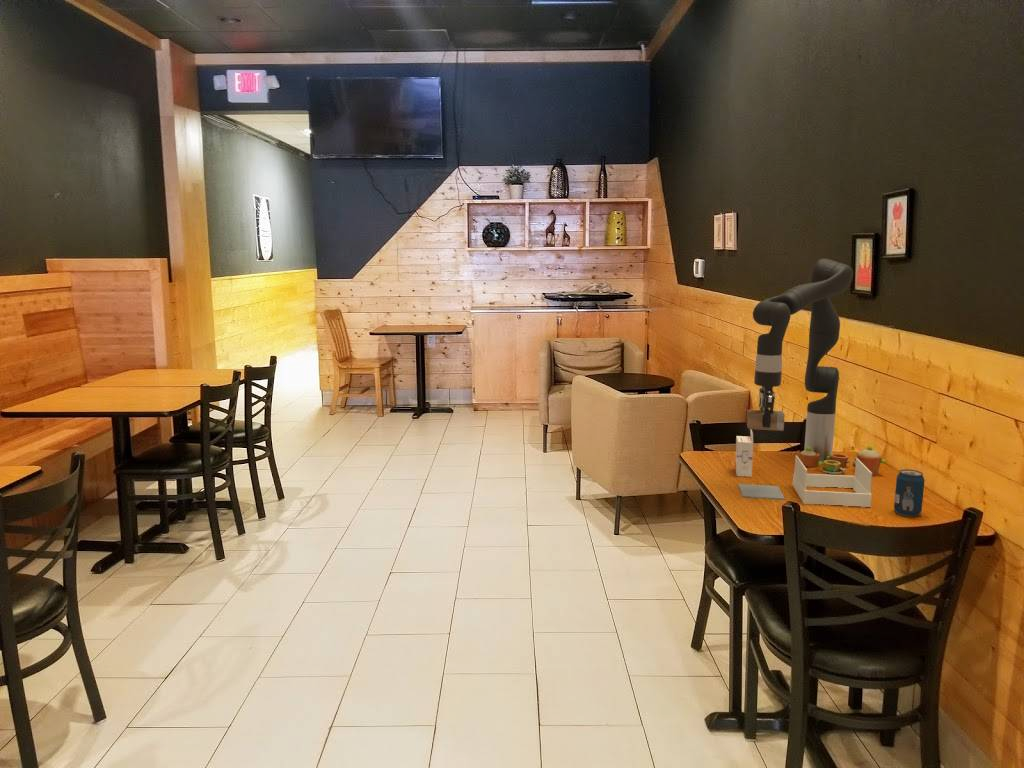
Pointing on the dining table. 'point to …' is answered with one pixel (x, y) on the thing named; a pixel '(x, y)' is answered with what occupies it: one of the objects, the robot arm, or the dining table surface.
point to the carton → (857, 482)
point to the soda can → (909, 492)
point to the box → (757, 419)
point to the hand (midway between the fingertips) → (765, 424)
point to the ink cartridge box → (744, 455)
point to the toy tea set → (843, 461)
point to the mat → (760, 491)
